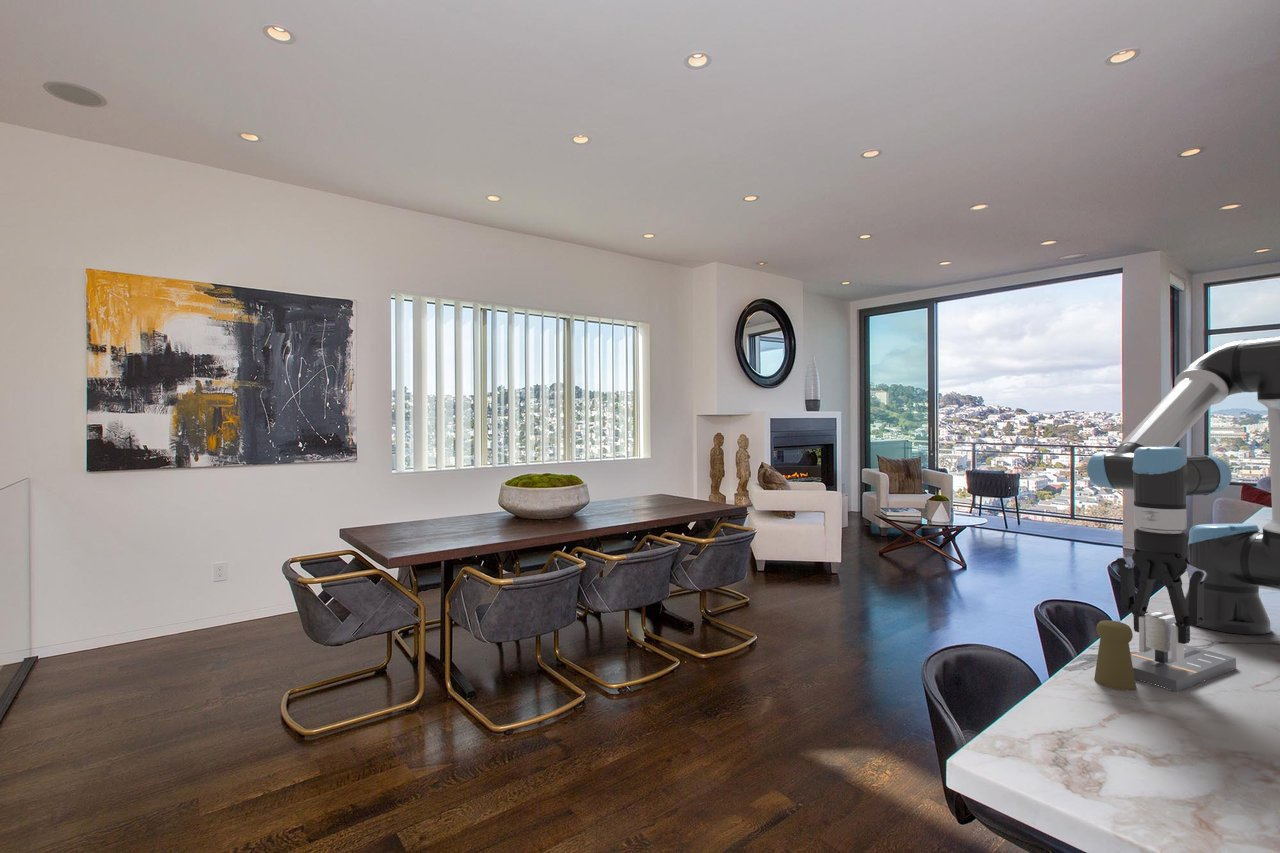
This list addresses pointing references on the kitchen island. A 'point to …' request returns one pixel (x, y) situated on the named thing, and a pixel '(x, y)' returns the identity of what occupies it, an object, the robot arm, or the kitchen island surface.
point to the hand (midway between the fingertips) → (1161, 654)
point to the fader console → (1181, 667)
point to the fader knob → (1159, 634)
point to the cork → (1114, 656)
